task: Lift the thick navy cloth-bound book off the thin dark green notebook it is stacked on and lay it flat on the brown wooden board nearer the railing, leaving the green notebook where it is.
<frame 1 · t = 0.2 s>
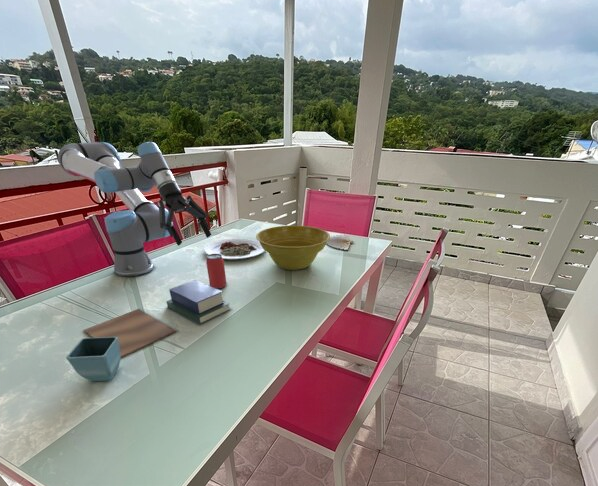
hand: (195, 240, 128), 16 cm above the table, tool tilted 35°, fingers open, 13 cm apart
navy book: (197, 302, 114), point 2 cm above the table, touching green notebook
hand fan: (339, 242, 178), on the table
planter bowl: (293, 265, 151), on the table
green notebook: (198, 308, 115), on the table, touching navy book
brown wooden board: (130, 331, 103), on the table
plated food: (236, 251, 164), on the table
beer can: (218, 286, 131), on the table
flower pot: (105, 375, 86), on the table
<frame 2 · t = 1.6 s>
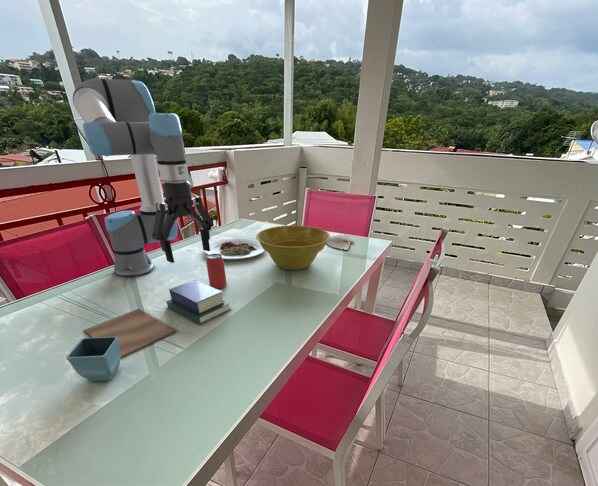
hand: (189, 255, 104), 19 cm above the table, tool pointing down, fingers open, 13 cm apart
nothing on the table moved.
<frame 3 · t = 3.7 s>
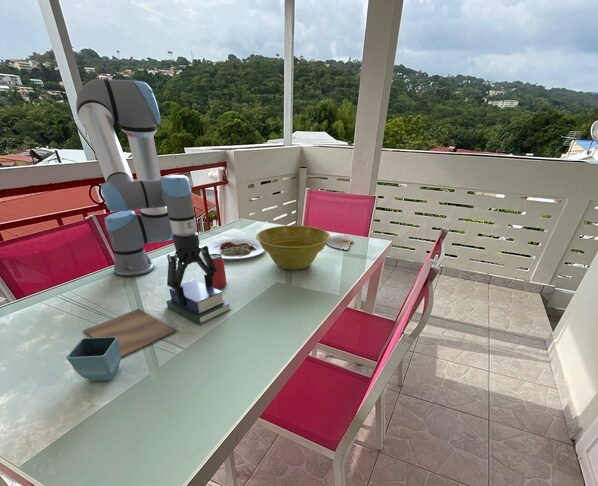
hand: (197, 298, 113), 4 cm above the table, tool pointing down, fingers closed on navy book, 10 cm apart
navy book: (197, 302, 114), point 3 cm above the table, touching green notebook, gripper
everything else where it was.
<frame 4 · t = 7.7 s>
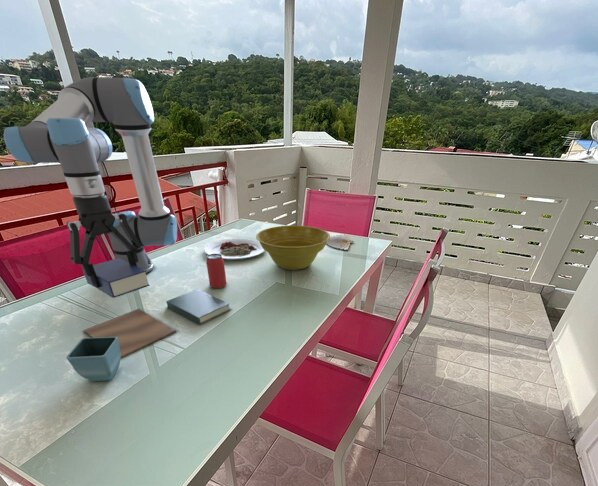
hand: (117, 279, 93), 17 cm above the table, tool pointing down, fingers closed on navy book, 10 cm apart
navy book: (118, 284, 94), point 16 cm above the table, touching gripper
green notebook: (198, 308, 115), on the table
everything else where it was.
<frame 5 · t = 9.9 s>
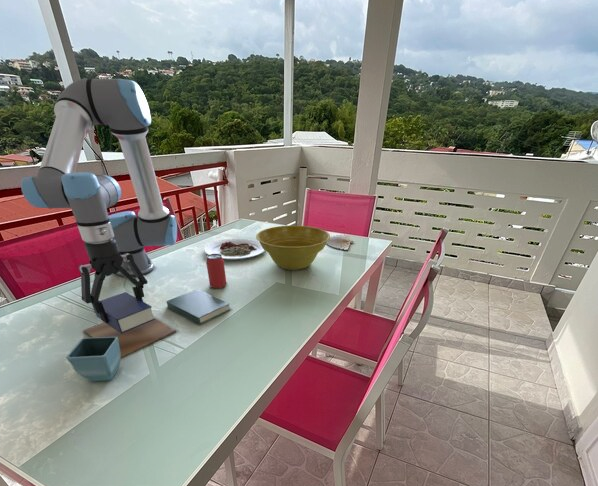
hand: (124, 314, 99), 6 cm above the table, tool pointing down, fingers closed on navy book, 10 cm apart
navy book: (125, 318, 100), point 5 cm above the table, touching gripper
everything else where it was.
when the fingers open (2 cm above the table, at t = 11.6 s): navy book stays where it is, resting on brown wooden board.
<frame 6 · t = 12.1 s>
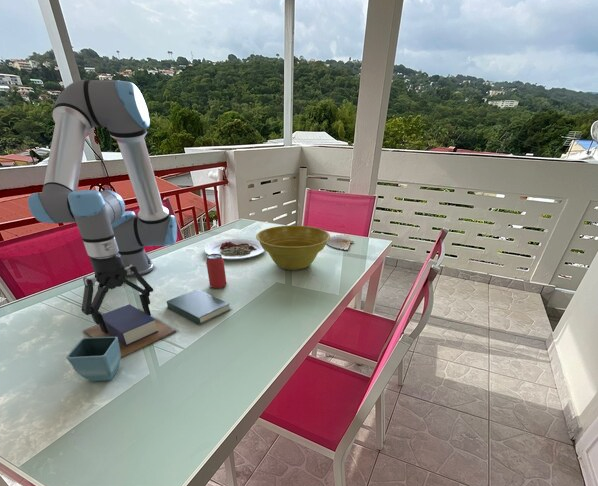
hand: (127, 322, 101), 3 cm above the table, tool pointing down, fingers open, 13 cm apart
navy book: (129, 330, 102), resting on brown wooden board
everything else where it was.
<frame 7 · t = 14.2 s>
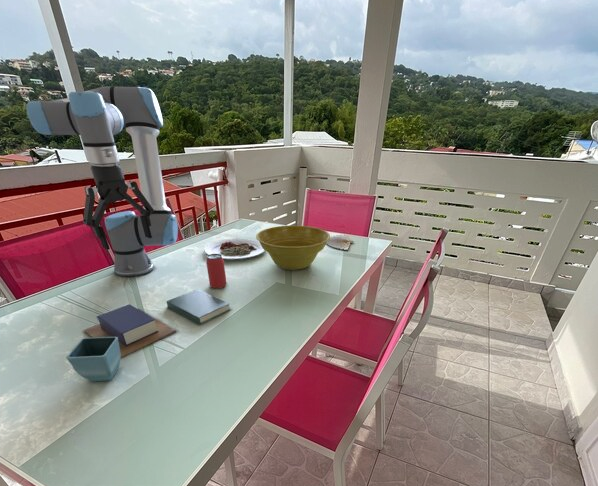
hand: (128, 242, 102), 23 cm above the table, tool pointing down, fingers open, 13 cm apart
nothing on the table moved.
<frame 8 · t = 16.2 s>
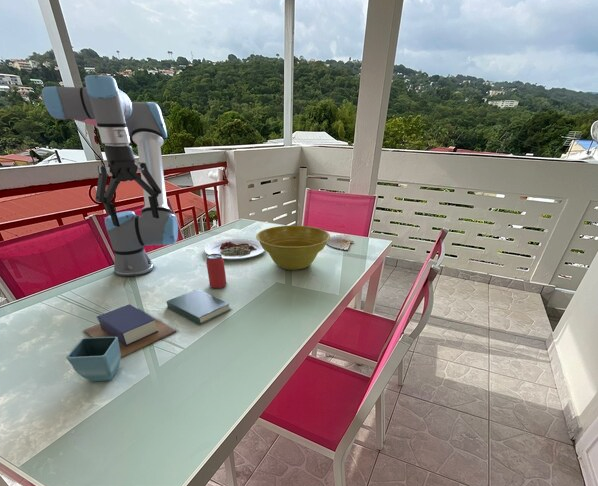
hand: (137, 221, 107), 27 cm above the table, tool pointing down, fingers open, 13 cm apart
nothing on the table moved.
at the end: navy book inside the target area on the brown wooden board (0.0 cm from its centre), point 0.5 cm above the brown wooden board's base; navy book tilted 0°; green notebook moved 0.0 cm from its start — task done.
